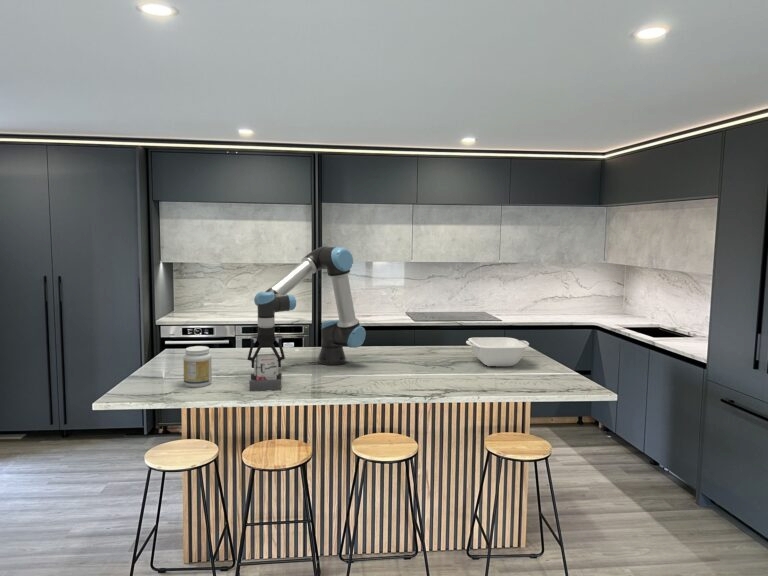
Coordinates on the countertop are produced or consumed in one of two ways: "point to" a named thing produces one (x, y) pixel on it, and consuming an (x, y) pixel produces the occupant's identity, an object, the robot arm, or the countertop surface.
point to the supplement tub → (197, 366)
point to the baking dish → (498, 350)
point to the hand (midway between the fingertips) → (266, 374)
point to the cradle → (264, 384)
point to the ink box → (266, 367)
